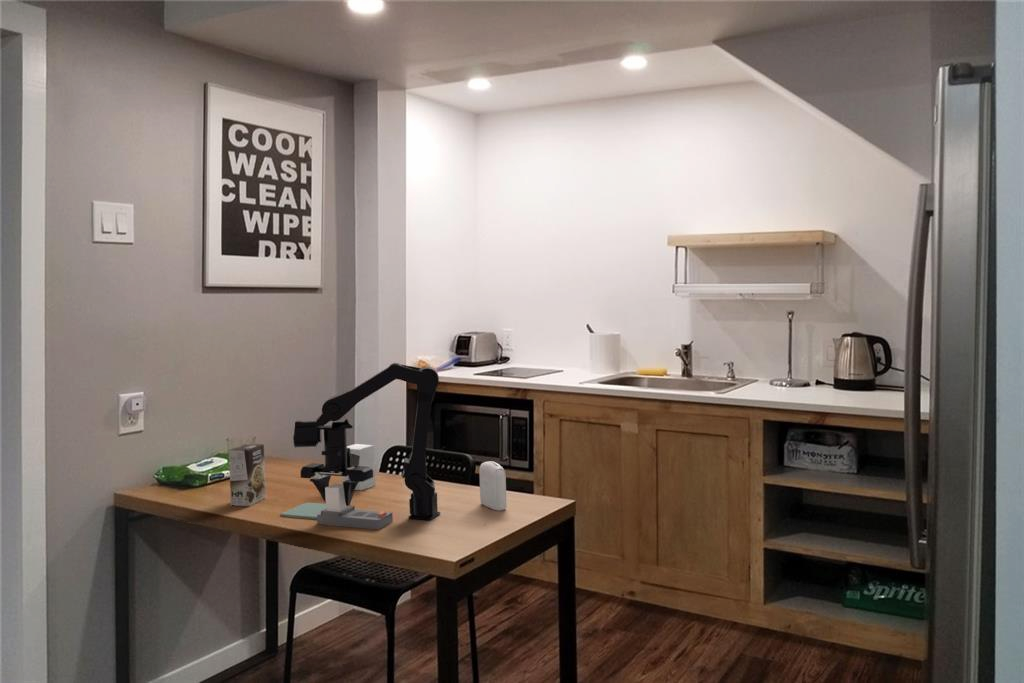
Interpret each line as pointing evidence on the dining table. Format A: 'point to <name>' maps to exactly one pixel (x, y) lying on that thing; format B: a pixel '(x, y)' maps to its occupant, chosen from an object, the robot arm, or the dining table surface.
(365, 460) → the supplement box
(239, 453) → the coffee box
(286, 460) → the dining table surface
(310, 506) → the rubber mat
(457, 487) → the dining table surface
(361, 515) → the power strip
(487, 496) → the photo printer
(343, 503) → the charger
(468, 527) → the dining table surface
